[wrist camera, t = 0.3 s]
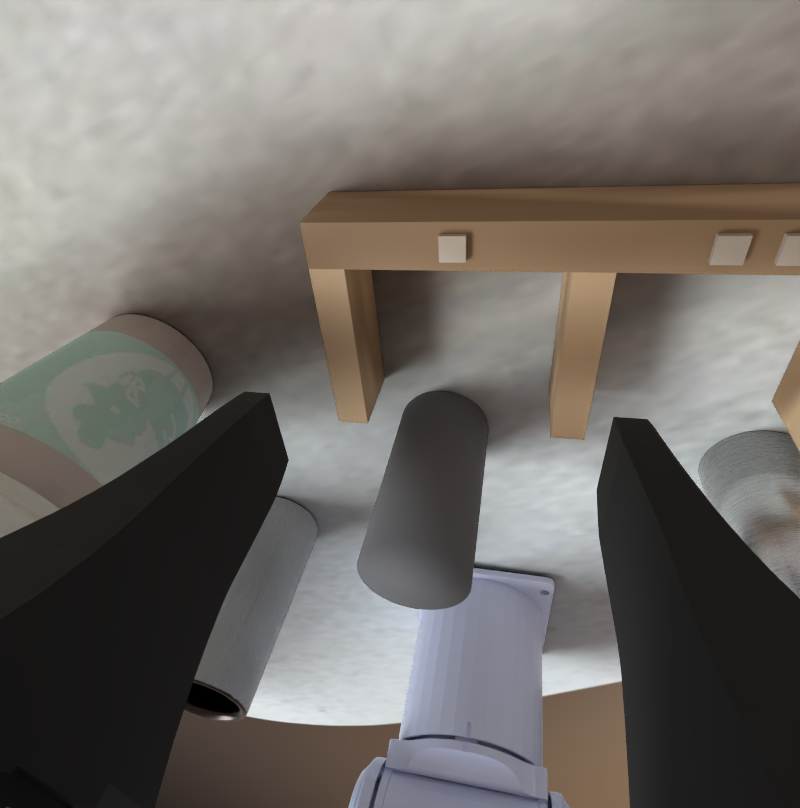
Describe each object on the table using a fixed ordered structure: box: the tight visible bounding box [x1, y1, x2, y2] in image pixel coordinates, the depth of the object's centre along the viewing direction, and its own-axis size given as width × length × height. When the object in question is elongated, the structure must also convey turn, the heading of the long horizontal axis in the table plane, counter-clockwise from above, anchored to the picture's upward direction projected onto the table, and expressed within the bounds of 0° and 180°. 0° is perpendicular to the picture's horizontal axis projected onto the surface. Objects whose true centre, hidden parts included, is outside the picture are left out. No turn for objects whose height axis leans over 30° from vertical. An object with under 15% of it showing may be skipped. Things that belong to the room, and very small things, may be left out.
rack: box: [300, 183, 800, 451], centre depth 18 cm, size 8×18×3 cm, turn 95°
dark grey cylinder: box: [357, 391, 489, 610], centre depth 21 cm, size 4×4×8 cm
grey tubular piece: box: [184, 497, 318, 722], centre depth 27 cm, size 4×4×10 cm
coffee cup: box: [0, 314, 213, 538], centre depth 21 cm, size 8×8×12 cm
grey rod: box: [698, 431, 800, 598], centre depth 19 cm, size 4×4×8 cm
